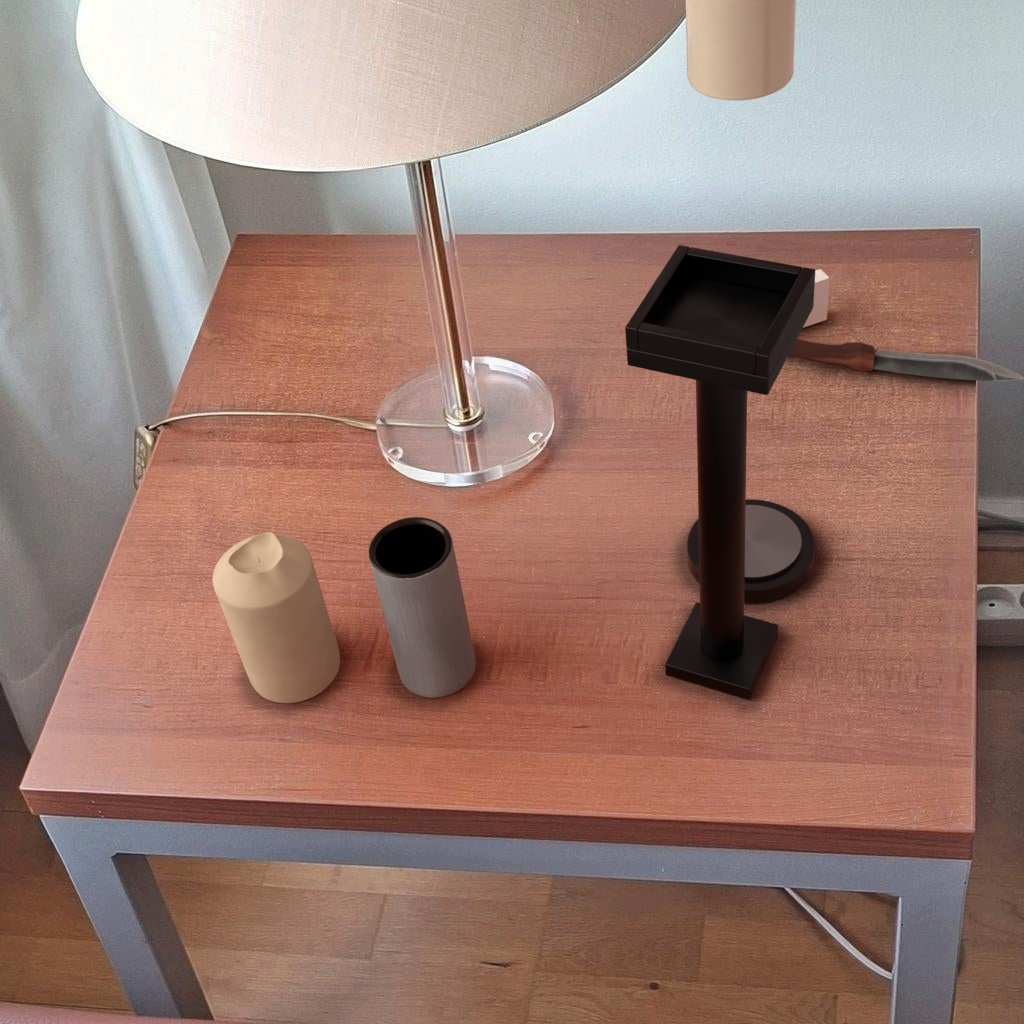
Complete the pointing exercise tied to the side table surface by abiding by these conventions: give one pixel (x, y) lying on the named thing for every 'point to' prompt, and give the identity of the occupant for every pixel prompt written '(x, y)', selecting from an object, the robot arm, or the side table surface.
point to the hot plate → (768, 551)
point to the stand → (721, 430)
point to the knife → (903, 361)
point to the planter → (423, 605)
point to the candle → (277, 617)
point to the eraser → (819, 299)
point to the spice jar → (740, 47)
